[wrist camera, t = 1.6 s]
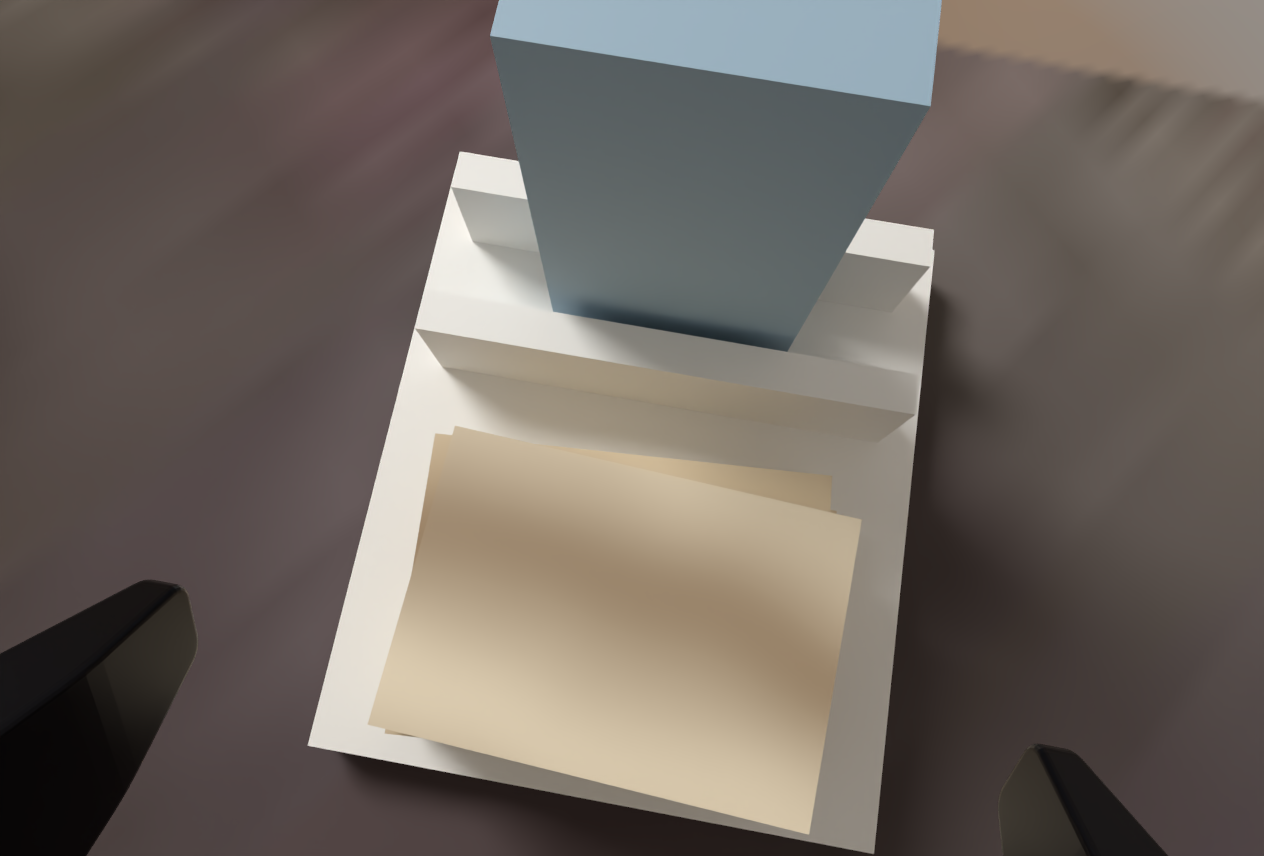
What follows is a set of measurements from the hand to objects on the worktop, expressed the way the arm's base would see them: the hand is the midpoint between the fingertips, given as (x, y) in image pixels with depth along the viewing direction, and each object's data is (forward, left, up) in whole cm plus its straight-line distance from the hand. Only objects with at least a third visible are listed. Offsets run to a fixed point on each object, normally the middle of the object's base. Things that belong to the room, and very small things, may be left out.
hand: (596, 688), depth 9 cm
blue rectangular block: (+8, +5, -13) cm, 15 cm away
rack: (+4, +2, -14) cm, 15 cm away
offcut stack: (+1, +1, -13) cm, 13 cm away
